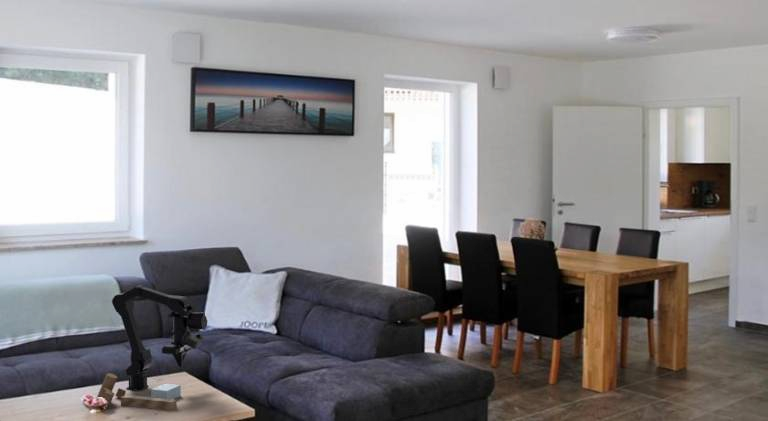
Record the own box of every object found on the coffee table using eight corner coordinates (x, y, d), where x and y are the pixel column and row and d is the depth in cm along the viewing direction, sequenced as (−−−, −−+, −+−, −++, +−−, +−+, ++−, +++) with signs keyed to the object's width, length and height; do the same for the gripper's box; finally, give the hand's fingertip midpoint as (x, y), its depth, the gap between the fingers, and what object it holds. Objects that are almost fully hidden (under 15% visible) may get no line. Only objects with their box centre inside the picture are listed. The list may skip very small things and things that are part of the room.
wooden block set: (108, 416, 293) (119, 391, 293) (86, 407, 293) (97, 382, 292) (123, 400, 311) (133, 376, 311) (102, 392, 311) (112, 368, 310)
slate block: (151, 400, 306) (151, 389, 305) (165, 394, 314) (165, 383, 314) (167, 402, 303) (166, 391, 303) (180, 396, 312) (180, 385, 312)
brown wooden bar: (120, 405, 299) (120, 397, 299) (125, 402, 302) (125, 395, 302) (172, 410, 293) (172, 402, 292) (176, 407, 295) (176, 399, 295)
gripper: (186, 334, 307) (186, 374, 308) (210, 325, 325) (210, 363, 325) (160, 332, 310) (161, 372, 311) (186, 323, 328) (186, 361, 329)
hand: (180, 367), depth 319 cm, fingers closed
